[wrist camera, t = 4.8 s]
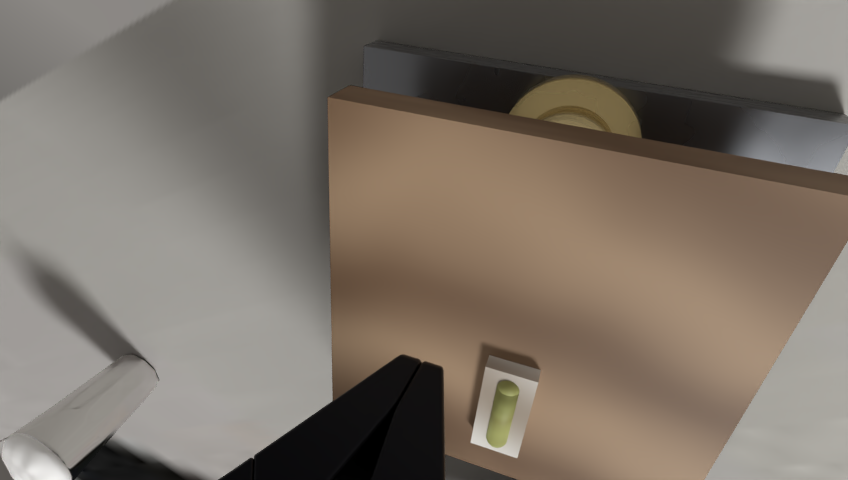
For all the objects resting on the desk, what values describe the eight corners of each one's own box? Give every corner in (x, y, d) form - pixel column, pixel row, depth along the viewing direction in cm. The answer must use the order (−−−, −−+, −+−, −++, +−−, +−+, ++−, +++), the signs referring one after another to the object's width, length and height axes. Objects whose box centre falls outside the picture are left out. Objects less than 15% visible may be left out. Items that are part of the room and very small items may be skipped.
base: (673, 442, 25) (681, 529, 21) (367, 348, 29) (329, 408, 25) (849, 105, 16) (913, 154, 13) (376, 32, 20) (320, 54, 16)
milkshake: (122, 329, 36) (-28, 446, 28) (177, 384, 37) (48, 512, 29) (96, 350, 38) (-48, 463, 30) (149, 401, 39) (23, 523, 31)
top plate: (658, 499, 22) (662, 575, 19) (355, 397, 25) (323, 451, 23) (839, 164, 14) (887, 217, 11) (360, 79, 17) (312, 105, 15)
